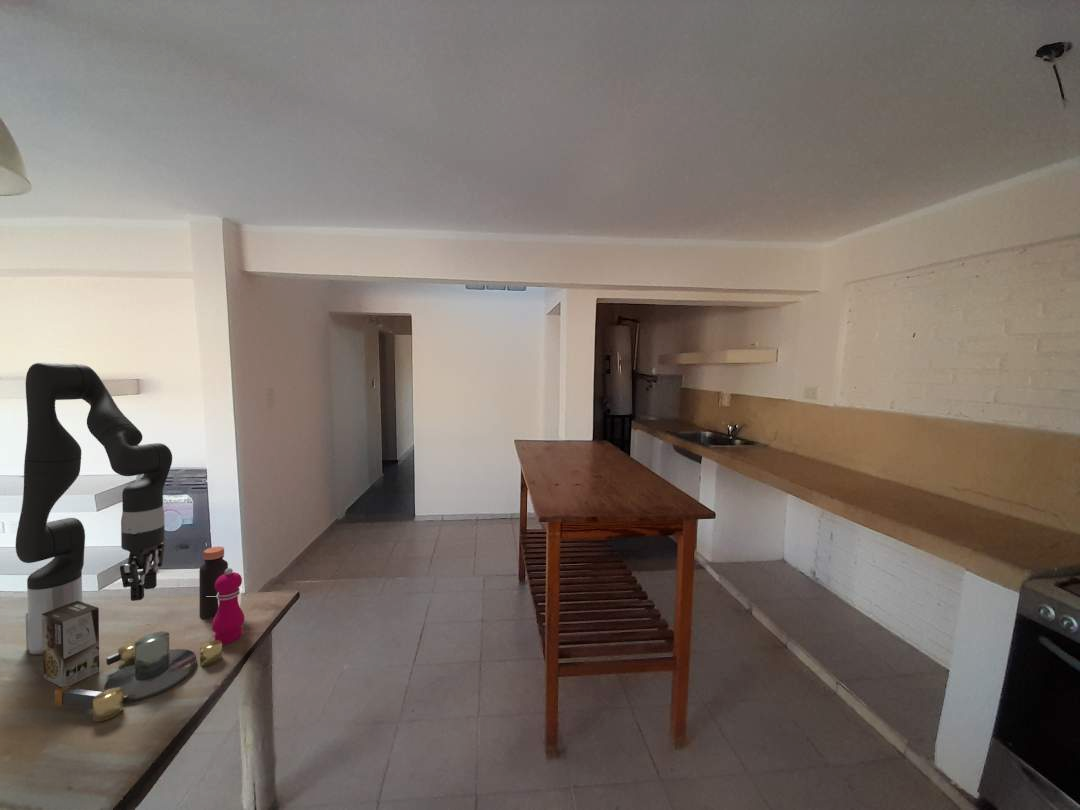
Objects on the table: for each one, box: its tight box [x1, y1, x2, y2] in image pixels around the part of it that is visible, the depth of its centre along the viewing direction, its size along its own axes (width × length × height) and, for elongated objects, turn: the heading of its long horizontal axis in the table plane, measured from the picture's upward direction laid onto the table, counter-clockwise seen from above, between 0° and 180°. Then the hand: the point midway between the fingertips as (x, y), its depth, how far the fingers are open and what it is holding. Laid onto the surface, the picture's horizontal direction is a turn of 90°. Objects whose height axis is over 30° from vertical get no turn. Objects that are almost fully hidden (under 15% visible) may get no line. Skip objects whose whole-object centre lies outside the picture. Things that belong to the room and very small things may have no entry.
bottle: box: [198, 546, 229, 619], centre depth 124 cm, size 7×7×20 cm
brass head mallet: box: [54, 686, 124, 723], centre depth 87 cm, size 14×4×4 cm, turn 85°
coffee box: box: [41, 601, 100, 688], centre depth 97 cm, size 9×6×16 cm
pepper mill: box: [211, 567, 245, 645], centre depth 112 cm, size 7×7×20 cm
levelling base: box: [103, 631, 223, 704], centre depth 99 cm, size 23×19×10 cm
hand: (144, 593), depth 99 cm, fingers open, 5 cm apart
